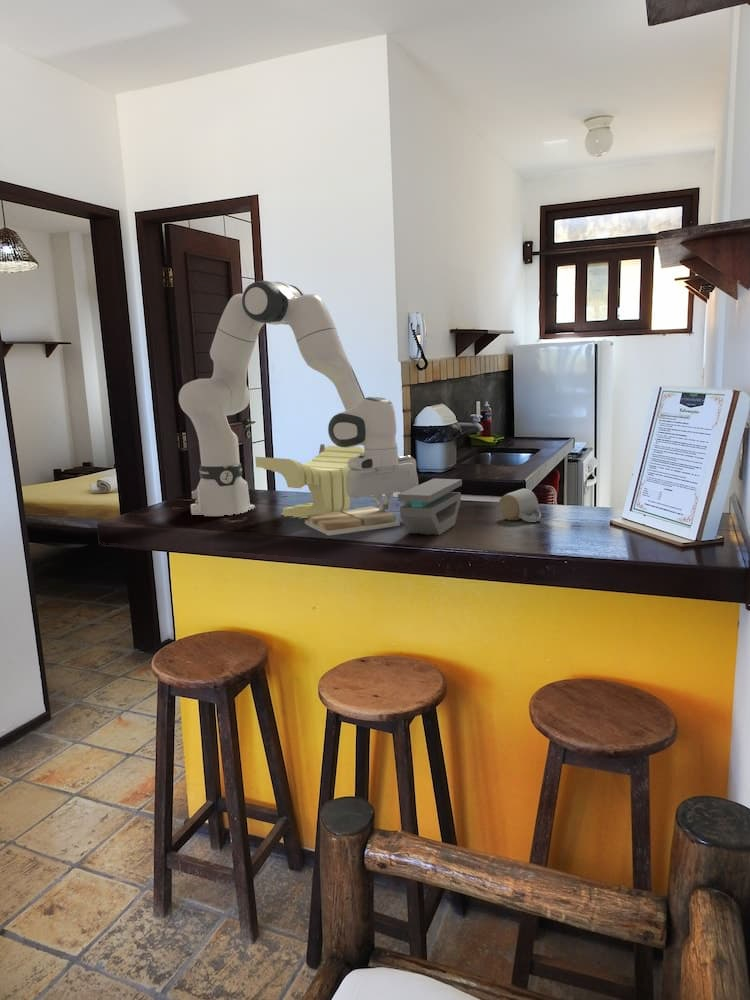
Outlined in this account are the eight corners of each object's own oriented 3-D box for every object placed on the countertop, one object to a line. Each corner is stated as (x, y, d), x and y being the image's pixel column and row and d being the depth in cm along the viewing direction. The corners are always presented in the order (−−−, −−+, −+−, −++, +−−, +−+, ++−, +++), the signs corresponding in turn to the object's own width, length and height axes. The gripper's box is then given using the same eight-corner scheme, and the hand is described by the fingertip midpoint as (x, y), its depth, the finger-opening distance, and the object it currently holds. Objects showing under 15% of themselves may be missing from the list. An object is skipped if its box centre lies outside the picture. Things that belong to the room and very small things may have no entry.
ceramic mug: (496, 519, 188) (496, 490, 186) (515, 514, 193) (516, 486, 191) (528, 525, 180) (529, 496, 178) (548, 520, 185) (548, 491, 183)
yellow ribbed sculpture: (301, 527, 186) (298, 459, 182) (259, 521, 195) (255, 456, 192) (371, 507, 209) (369, 447, 206) (330, 503, 219) (328, 445, 215)
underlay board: (305, 524, 189) (304, 520, 189) (372, 515, 198) (372, 511, 197) (328, 535, 175) (328, 531, 175) (399, 525, 183) (399, 521, 183)
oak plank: (307, 521, 188) (307, 515, 188) (339, 517, 192) (338, 511, 192) (328, 530, 176) (328, 524, 175) (361, 526, 180) (361, 520, 179)
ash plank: (342, 516, 192) (342, 511, 192) (372, 511, 196) (371, 506, 196) (364, 525, 180) (364, 519, 180) (396, 520, 184) (395, 514, 184)
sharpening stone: (430, 541, 166) (429, 495, 164) (399, 539, 169) (397, 494, 167) (462, 520, 188) (461, 479, 186) (434, 518, 191) (433, 478, 189)
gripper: (409, 454, 195) (412, 503, 197) (341, 462, 186) (345, 513, 188) (421, 455, 189) (423, 506, 191) (352, 464, 180) (355, 517, 182)
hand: (384, 510), depth 190 cm, fingers closed, pressing on ash plank
